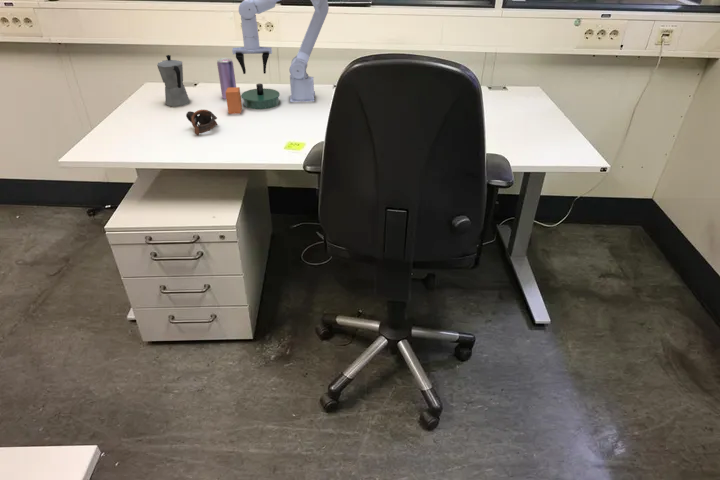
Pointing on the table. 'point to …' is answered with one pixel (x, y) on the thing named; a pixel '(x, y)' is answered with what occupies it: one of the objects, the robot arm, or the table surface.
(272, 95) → the tin lid
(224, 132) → the table surface
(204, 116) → the pottery mug
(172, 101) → the coffeepot
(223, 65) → the beverage can
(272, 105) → the lunch tin
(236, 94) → the juice carton
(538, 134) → the table surface
